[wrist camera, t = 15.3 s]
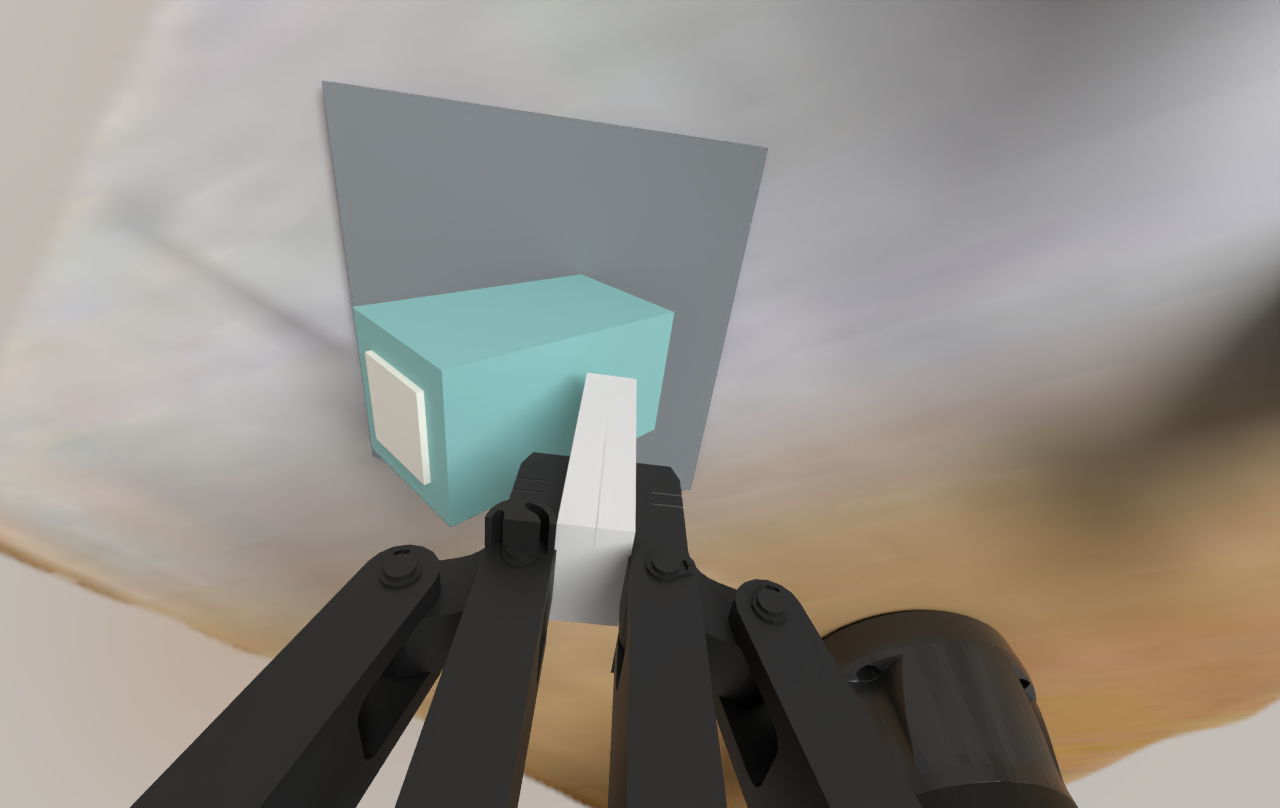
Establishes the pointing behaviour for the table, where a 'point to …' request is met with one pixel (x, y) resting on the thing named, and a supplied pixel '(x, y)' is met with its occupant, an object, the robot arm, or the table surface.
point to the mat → (549, 221)
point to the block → (498, 379)
